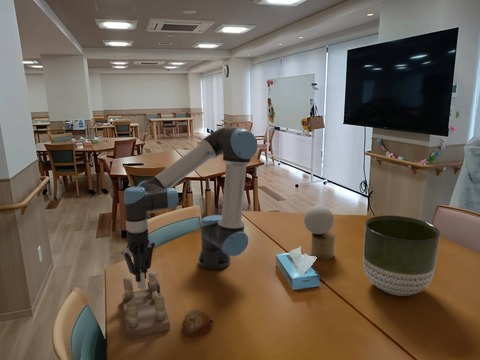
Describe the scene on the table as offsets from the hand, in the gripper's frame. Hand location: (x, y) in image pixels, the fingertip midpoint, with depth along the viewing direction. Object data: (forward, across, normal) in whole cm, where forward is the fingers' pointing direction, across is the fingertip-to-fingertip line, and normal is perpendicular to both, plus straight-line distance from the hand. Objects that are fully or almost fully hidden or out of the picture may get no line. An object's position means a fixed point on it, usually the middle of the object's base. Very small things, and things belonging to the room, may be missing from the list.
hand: (141, 287), depth 130 cm
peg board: (+7, +3, +6) cm, 10 cm away
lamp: (+7, -82, +31) cm, 88 cm away
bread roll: (+8, -5, +26) cm, 27 cm away
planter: (+7, -73, +70) cm, 101 cm away
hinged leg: (+4, -4, +2) cm, 6 cm away
